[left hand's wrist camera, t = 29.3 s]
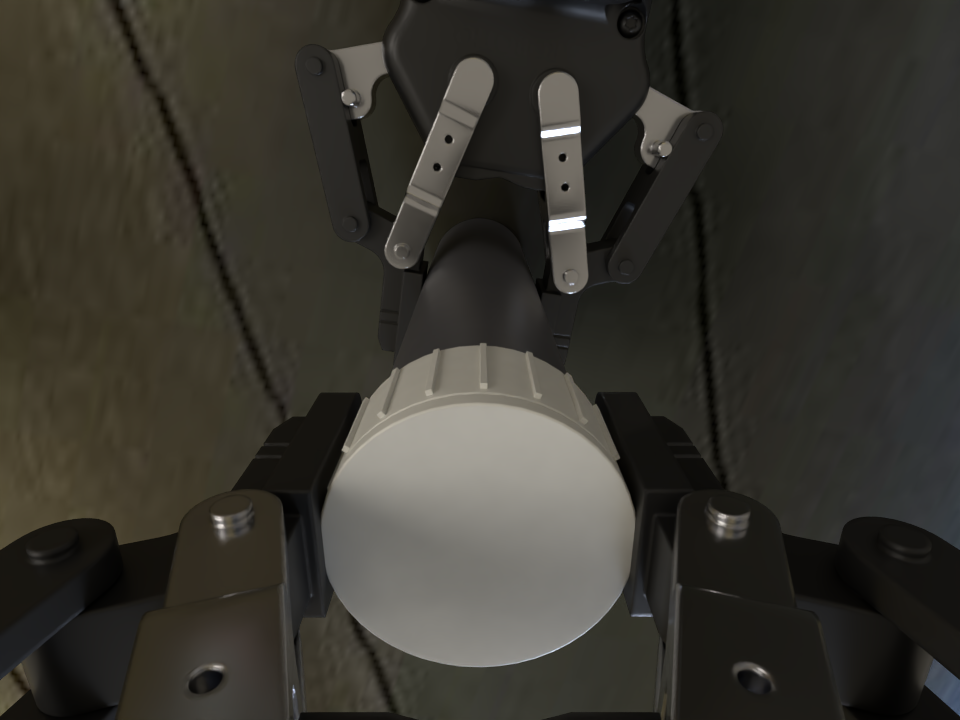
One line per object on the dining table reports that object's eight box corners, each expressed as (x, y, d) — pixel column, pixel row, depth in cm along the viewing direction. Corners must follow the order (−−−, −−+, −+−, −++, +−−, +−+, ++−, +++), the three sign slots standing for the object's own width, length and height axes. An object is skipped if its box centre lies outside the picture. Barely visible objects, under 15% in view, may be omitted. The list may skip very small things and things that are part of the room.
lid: (665, 463, 11) (711, 546, 9) (480, 610, 12) (480, 717, 10) (477, 283, 10) (477, 327, 8) (293, 466, 11) (247, 551, 9)
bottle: (518, 311, 29) (584, 621, 11) (431, 302, 29) (345, 602, 10) (529, 223, 27) (630, 406, 9) (438, 213, 27) (353, 380, 9)
